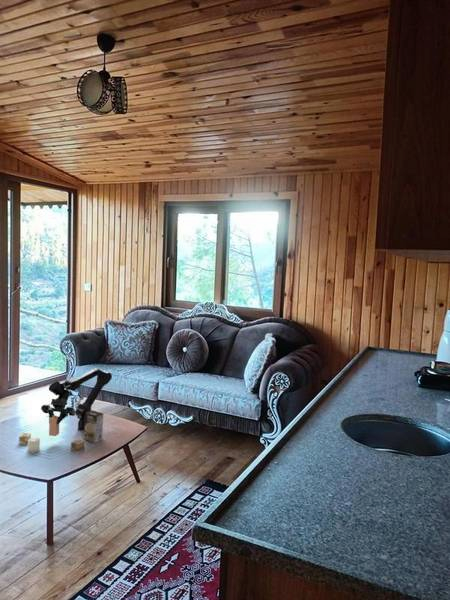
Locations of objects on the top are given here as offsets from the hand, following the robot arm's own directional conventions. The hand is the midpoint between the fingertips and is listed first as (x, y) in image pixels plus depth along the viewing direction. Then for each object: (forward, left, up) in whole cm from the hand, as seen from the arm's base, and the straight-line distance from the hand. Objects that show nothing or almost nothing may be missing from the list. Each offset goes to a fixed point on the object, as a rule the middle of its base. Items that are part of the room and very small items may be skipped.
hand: (53, 424), depth 253 cm
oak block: (+16, +1, -12) cm, 20 cm away
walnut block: (-16, +3, -12) cm, 20 cm away
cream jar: (+6, +10, -12) cm, 17 cm away
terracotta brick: (0, -1, -7) cm, 7 cm away
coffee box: (-19, -12, -12) cm, 25 cm away
